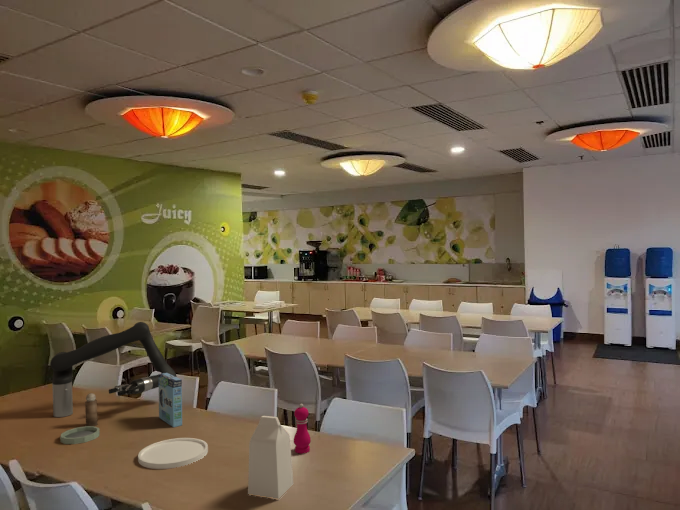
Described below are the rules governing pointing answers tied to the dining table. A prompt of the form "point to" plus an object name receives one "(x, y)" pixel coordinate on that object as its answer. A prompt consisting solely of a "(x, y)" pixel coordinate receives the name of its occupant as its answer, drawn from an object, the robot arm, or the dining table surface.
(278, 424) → the milk
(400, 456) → the dining table surface
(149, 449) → the plate
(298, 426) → the pepper mill
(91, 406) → the wooden peg figure
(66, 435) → the round tray
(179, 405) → the light blue cardboard box
